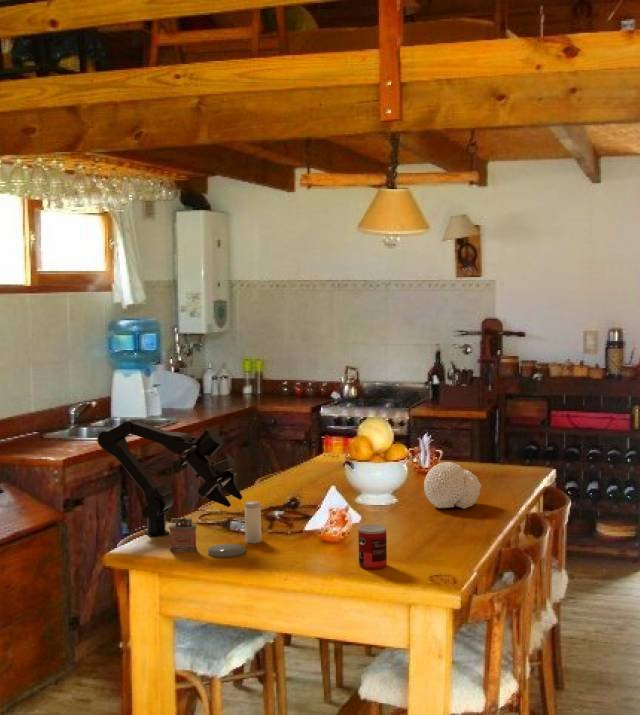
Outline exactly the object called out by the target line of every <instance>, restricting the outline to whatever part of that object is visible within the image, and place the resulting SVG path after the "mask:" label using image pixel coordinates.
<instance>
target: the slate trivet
mask: <svg viewBox="0 0 640 715" xmlns="http://www.w3.org/2000/svg"><path fill="white" fill-rule="evenodd" d="M207 552H208V553H207V554H208V555H209V556H210V557H214V558H221V559H226V558H236V557H240V556H242V555H244V554H245V553H246V547H245V546H244V545H242V544H237V543H220V544H214V545H212V546H210V547H208V550H207Z"/></svg>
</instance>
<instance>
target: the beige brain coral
mask: <svg viewBox="0 0 640 715" xmlns="http://www.w3.org/2000/svg"><path fill="white" fill-rule="evenodd" d="M423 482H424V483H423V486H424V487H423V489H424V490H423V491H424V494H425V496H426V500H427V499H428V502H430V503H431V504H432V505H433V506H435V508H438V509H448V508H454V507H457V508H461V509H467V508H470V507H472V506H474V504H476V501H477V500H478V498H479V497H480V493H481V487H482V484H481V482H480V481H479V479H478V477H477V476H476V475H475V474H473V473H472V471H471V470H470V471H469V470H468V469H465V468H463V467H461V465H459V464H457V463H454V462H450V461H448V462H447V461H445V462H440V463H437V464H436V465H434V466H433V467H431V468H430V470H428V471H427V474H426V476H425V477H424V481H423Z"/></svg>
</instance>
